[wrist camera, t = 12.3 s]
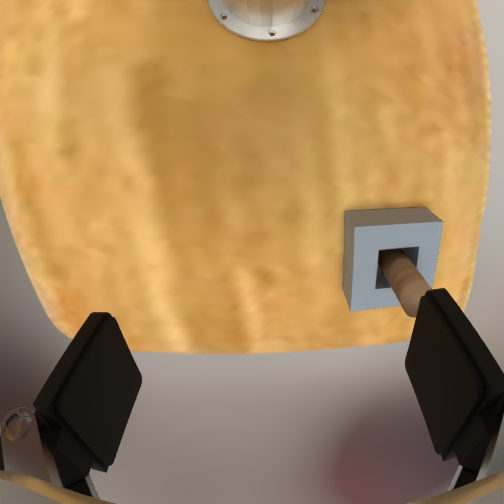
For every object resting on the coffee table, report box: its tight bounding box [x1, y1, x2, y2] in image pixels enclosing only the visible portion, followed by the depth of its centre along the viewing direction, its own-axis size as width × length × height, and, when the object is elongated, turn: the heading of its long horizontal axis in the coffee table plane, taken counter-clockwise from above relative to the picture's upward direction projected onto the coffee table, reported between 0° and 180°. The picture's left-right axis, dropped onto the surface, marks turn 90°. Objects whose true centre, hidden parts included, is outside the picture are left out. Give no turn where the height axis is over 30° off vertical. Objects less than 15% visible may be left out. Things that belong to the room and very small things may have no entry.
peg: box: [378, 248, 432, 317], centre depth 33 cm, size 4×4×12 cm
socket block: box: [343, 207, 443, 311], centre depth 36 cm, size 11×11×5 cm
